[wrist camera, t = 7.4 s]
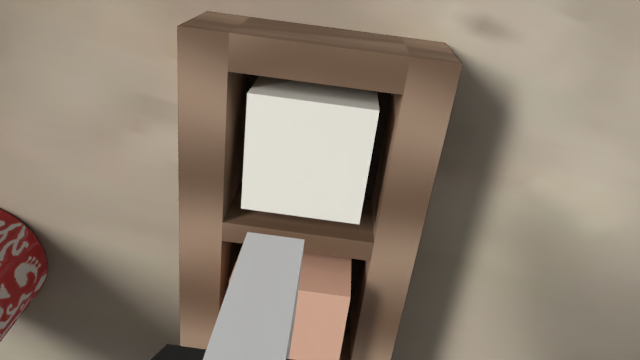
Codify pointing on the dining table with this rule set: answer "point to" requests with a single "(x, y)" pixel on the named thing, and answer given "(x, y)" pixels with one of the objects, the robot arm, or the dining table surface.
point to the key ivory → (308, 149)
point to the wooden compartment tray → (320, 235)
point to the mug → (18, 269)
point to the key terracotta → (320, 307)
